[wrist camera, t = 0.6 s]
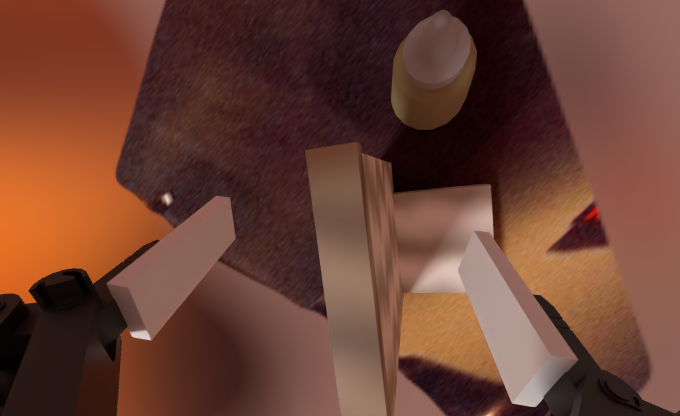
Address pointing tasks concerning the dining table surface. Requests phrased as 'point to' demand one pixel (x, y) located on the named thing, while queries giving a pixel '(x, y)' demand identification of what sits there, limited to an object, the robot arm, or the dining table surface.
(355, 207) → the wooden display stand
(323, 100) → the dining table surface
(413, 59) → the squeeze bottle
